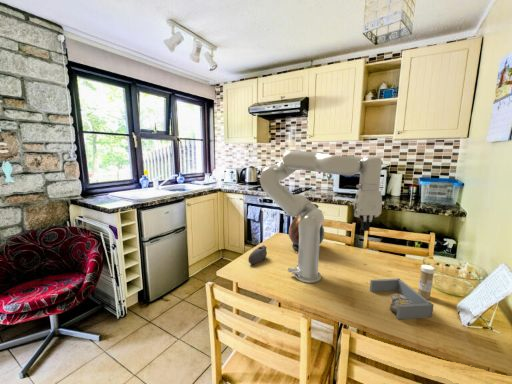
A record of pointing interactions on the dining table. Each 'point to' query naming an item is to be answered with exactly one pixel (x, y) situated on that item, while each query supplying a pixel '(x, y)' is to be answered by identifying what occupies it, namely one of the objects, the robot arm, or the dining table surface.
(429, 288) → the sprinkles bottle
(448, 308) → the dining table surface
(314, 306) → the dining table surface
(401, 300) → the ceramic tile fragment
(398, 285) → the box
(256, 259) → the perforated stone tool
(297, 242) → the amphora vase
